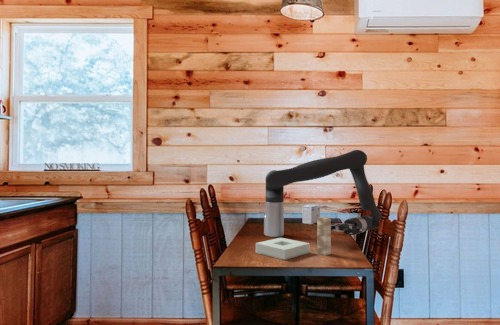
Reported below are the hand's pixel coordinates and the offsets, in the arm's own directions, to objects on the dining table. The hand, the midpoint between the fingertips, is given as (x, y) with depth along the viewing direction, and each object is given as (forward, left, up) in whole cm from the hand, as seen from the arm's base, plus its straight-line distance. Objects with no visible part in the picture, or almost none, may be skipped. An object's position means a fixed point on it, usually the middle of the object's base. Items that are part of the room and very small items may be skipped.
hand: (335, 230), depth 161 cm
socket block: (-13, -20, -9) cm, 25 cm away
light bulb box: (-49, +49, -9) cm, 70 cm away
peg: (0, -9, -9) cm, 12 cm away
